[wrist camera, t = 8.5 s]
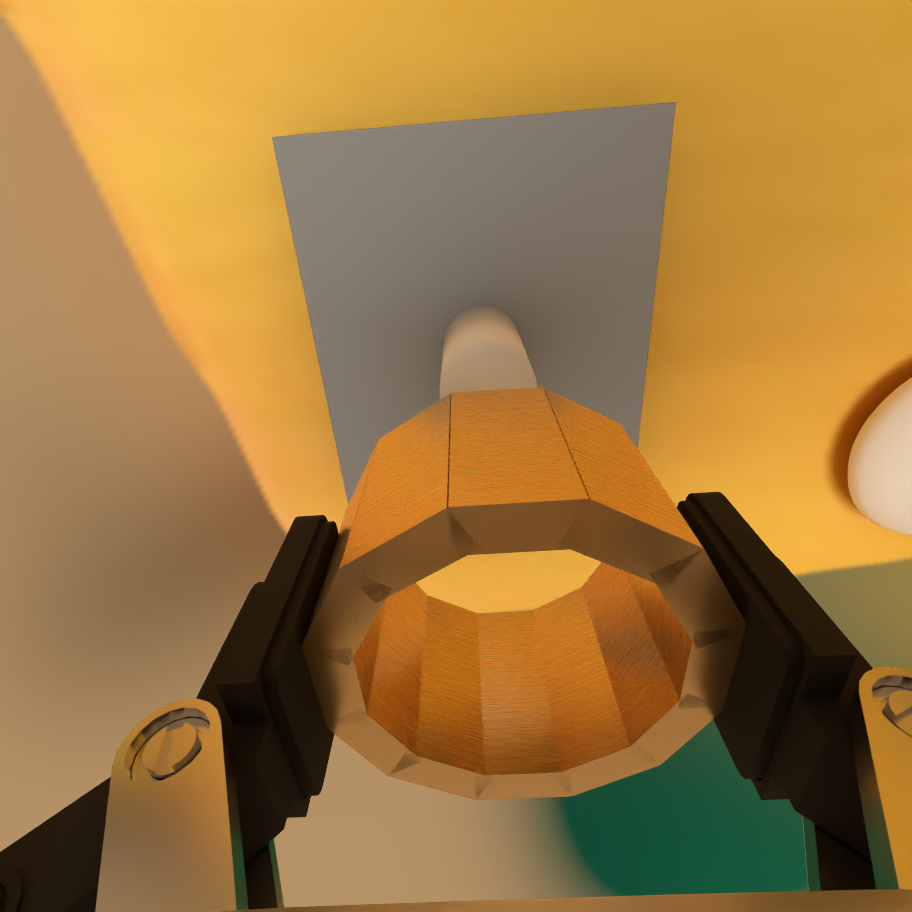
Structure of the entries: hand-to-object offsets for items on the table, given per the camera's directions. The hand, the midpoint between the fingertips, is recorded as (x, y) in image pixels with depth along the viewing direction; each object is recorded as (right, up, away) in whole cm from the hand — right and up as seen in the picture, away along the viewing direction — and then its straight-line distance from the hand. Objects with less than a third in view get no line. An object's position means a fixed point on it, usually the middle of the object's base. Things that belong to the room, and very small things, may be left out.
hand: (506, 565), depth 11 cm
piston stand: (0, +9, +16) cm, 18 cm away
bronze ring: (0, +1, +1) cm, 1 cm away
